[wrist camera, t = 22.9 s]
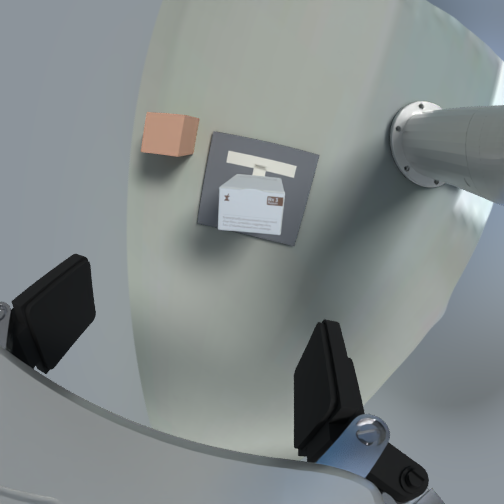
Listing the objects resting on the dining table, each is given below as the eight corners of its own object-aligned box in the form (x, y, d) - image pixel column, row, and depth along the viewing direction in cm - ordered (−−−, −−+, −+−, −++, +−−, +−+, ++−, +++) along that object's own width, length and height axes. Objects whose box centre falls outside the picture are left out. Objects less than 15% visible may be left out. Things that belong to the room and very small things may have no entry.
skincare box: (234, 204, 36) (213, 233, 25) (236, 171, 35) (215, 186, 23) (280, 208, 36) (280, 240, 25) (283, 175, 34) (285, 192, 23)
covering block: (199, 118, 33) (185, 115, 27) (193, 153, 35) (177, 156, 29) (166, 115, 33) (146, 112, 27) (160, 149, 35) (140, 152, 29)
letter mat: (318, 154, 33) (319, 155, 33) (294, 244, 38) (294, 246, 38) (214, 131, 33) (213, 131, 33) (198, 221, 38) (197, 223, 38)
